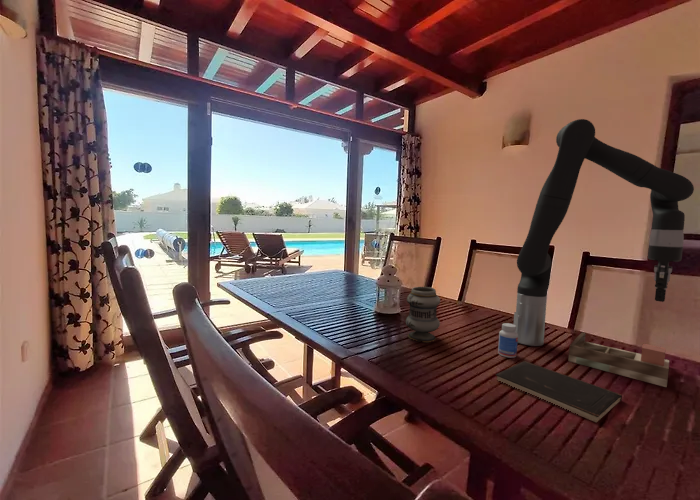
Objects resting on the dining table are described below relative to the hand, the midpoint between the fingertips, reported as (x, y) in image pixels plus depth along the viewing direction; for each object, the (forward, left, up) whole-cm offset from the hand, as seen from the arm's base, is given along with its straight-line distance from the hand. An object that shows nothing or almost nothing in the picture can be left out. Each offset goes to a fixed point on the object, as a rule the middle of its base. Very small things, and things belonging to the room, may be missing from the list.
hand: (659, 300), depth 103 cm
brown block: (-4, -7, -17) cm, 19 cm away
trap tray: (-13, -7, -19) cm, 24 cm away
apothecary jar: (-71, -1, -19) cm, 74 cm away
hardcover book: (-37, -30, -20) cm, 52 cm away
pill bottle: (-44, -9, -19) cm, 49 cm away
